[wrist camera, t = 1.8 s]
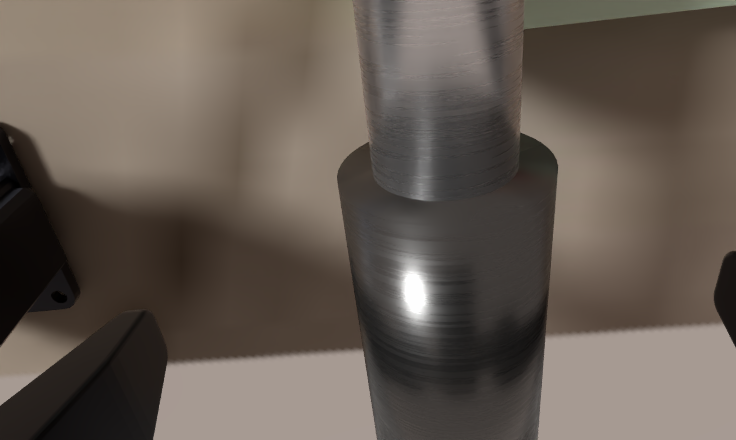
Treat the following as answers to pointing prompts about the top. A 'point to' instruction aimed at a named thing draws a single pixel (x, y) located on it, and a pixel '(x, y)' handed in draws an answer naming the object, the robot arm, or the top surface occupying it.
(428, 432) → the rod
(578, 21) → the foosball frame
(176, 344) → the top surface
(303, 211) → the top surface
